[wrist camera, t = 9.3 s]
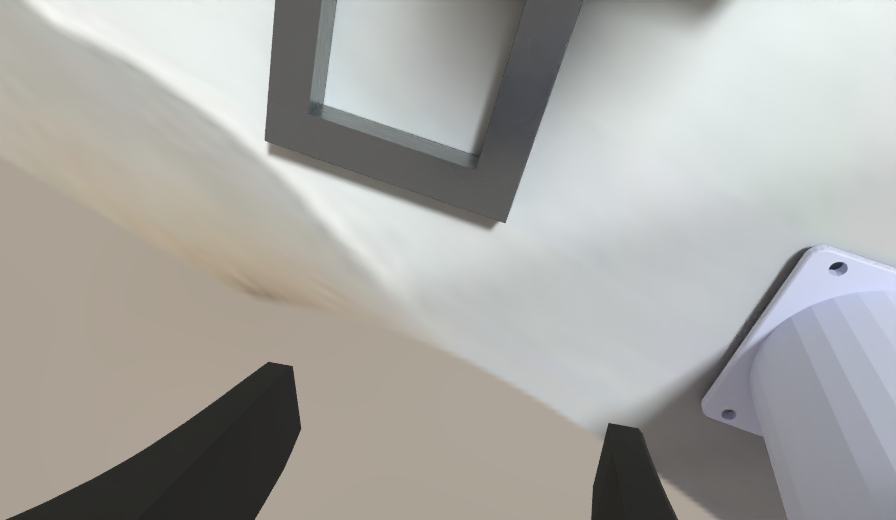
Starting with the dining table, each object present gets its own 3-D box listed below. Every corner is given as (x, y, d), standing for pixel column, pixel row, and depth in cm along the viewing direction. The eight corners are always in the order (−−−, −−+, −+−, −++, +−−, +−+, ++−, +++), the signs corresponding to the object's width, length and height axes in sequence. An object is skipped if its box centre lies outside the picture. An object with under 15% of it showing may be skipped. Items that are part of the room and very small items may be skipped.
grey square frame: (607, -70, 16) (606, -69, 15) (510, 208, 21) (505, 222, 20) (307, -159, 17) (287, -164, 16) (280, 130, 22) (264, 140, 21)
